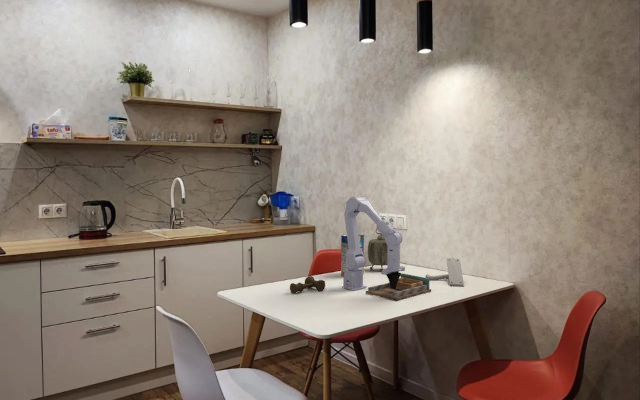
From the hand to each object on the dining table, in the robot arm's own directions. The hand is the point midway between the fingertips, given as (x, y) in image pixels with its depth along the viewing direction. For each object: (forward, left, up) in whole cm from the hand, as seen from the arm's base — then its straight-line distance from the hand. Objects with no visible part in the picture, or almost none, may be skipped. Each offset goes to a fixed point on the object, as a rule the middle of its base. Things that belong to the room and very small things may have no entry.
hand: (393, 288), depth 220 cm
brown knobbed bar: (-25, +30, -3) cm, 39 cm away
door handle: (+39, -2, -3) cm, 39 cm away
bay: (+4, 0, -3) cm, 5 cm away
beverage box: (+16, +41, -3) cm, 44 cm away
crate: (+10, 0, -1) cm, 10 cm away
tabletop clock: (+38, +39, -3) cm, 54 cm away
